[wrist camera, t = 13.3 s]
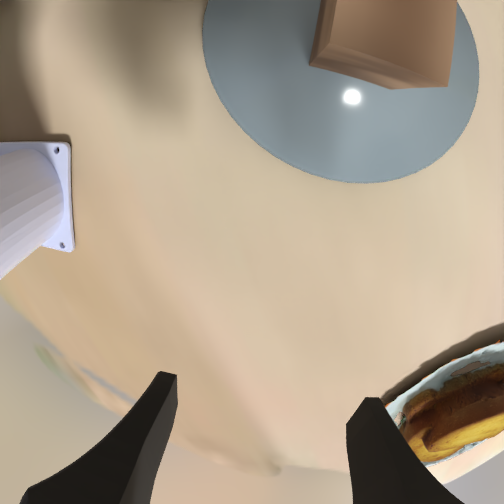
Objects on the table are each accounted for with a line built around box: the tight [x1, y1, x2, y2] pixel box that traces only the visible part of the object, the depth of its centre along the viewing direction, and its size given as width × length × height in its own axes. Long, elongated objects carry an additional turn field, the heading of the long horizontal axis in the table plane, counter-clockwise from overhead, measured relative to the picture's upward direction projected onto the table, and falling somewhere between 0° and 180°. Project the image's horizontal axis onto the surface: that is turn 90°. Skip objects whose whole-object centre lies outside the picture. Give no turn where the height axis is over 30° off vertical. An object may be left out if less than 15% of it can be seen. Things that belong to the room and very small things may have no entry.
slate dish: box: [202, 0, 479, 183], centre depth 13 cm, size 16×16×1 cm
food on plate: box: [385, 340, 504, 467], centre depth 25 cm, size 25×25×7 cm
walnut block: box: [309, 0, 457, 90], centre depth 9 cm, size 4×4×6 cm
